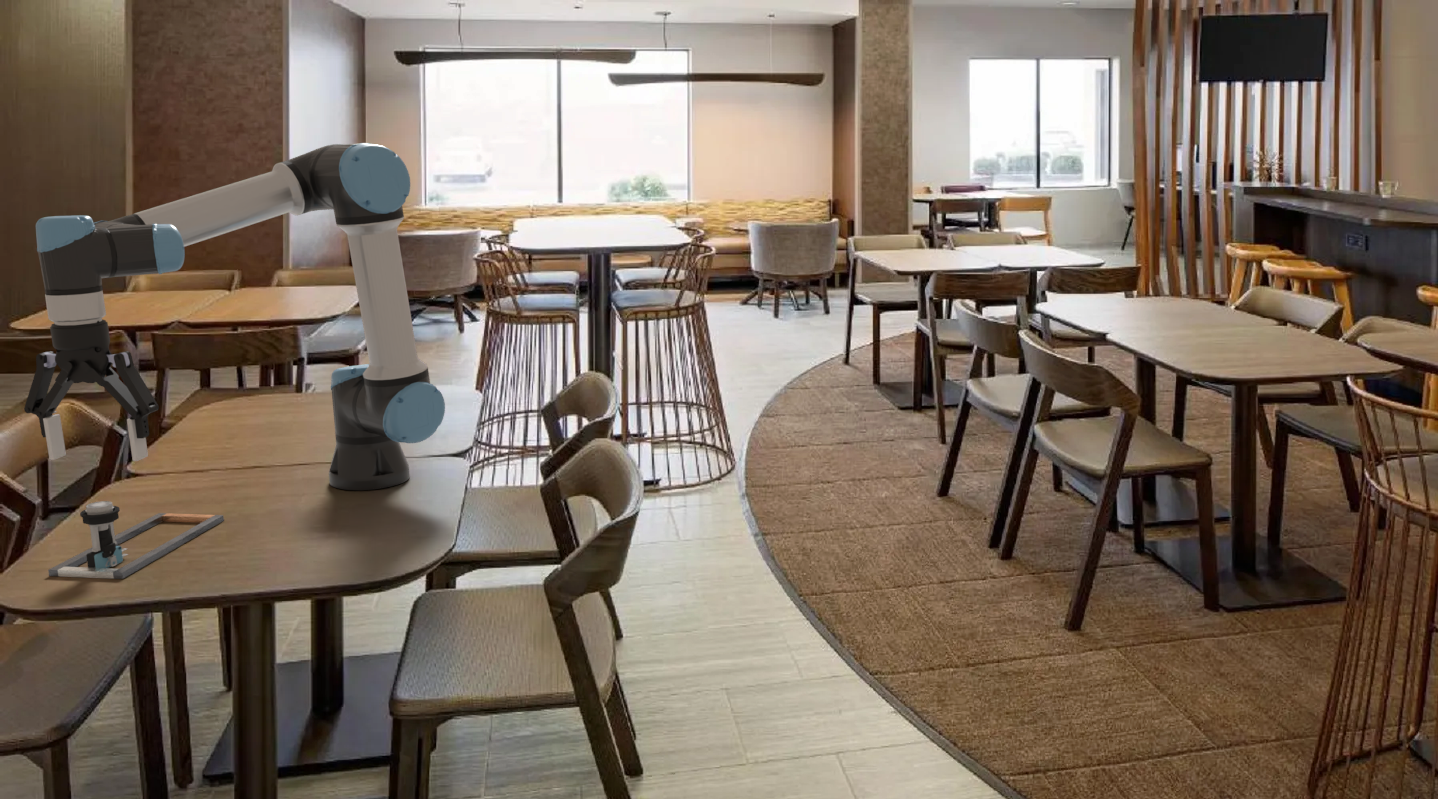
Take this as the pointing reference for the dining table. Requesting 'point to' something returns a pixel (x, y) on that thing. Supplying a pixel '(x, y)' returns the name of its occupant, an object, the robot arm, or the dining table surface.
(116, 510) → the push button
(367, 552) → the dining table surface
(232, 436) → the dining table surface
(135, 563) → the open rectangular frame
